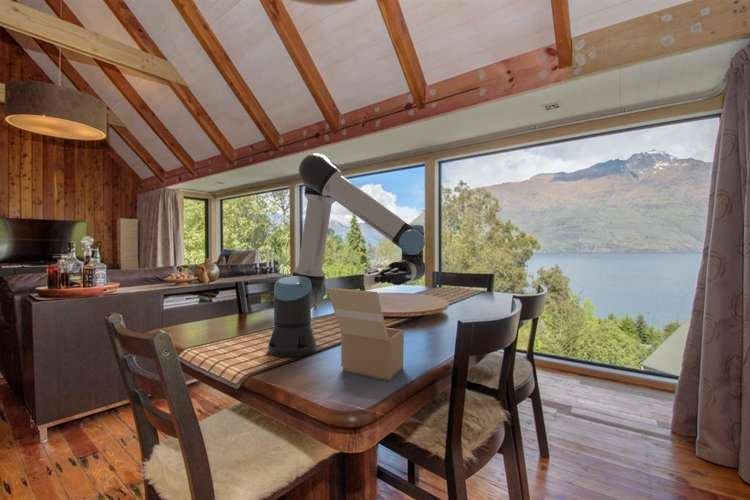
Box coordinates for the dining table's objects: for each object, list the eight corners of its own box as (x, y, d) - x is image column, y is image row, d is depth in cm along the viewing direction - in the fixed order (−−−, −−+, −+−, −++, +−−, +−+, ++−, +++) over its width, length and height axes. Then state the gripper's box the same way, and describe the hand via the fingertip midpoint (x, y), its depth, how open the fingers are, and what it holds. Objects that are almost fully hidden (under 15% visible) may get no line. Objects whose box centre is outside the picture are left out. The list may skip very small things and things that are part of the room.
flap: (343, 330, 94) (341, 333, 93) (328, 287, 87) (326, 289, 86) (388, 338, 88) (387, 340, 87) (377, 292, 81) (375, 294, 80)
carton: (340, 370, 95) (340, 331, 95) (357, 359, 104) (358, 323, 104) (389, 381, 89) (389, 339, 88) (403, 368, 98) (403, 330, 97)
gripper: (419, 285, 108) (388, 297, 87) (382, 282, 114) (344, 292, 93) (420, 262, 108) (389, 268, 87) (383, 259, 114) (345, 264, 93)
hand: (366, 280), depth 90 cm, fingers closed
